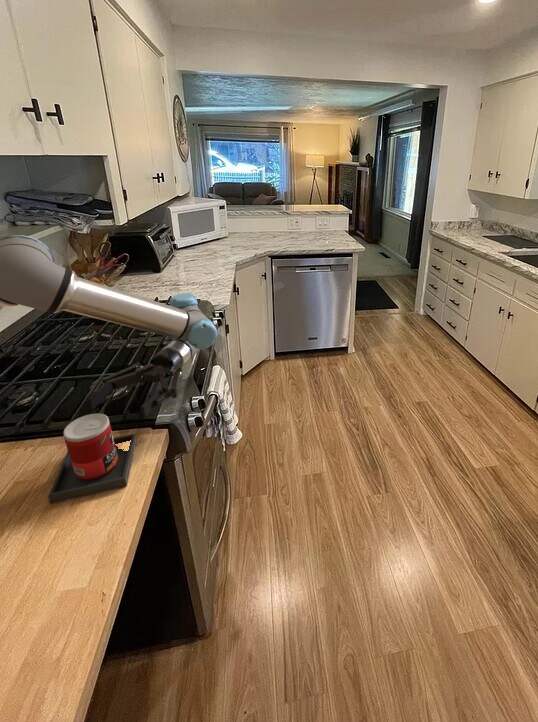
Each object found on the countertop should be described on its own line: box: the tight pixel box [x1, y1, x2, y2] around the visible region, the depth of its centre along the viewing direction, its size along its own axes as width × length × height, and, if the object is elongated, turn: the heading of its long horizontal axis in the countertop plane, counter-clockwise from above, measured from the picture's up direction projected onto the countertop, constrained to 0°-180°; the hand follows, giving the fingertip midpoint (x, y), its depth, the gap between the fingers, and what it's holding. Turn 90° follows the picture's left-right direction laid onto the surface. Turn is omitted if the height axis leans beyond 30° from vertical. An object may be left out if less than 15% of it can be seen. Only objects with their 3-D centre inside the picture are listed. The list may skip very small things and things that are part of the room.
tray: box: [47, 433, 137, 505], centre depth 76 cm, size 13×13×2 cm
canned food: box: [63, 413, 118, 481], centre depth 74 cm, size 8×8×11 cm
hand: (115, 408), depth 81 cm, fingers open, 13 cm apart
